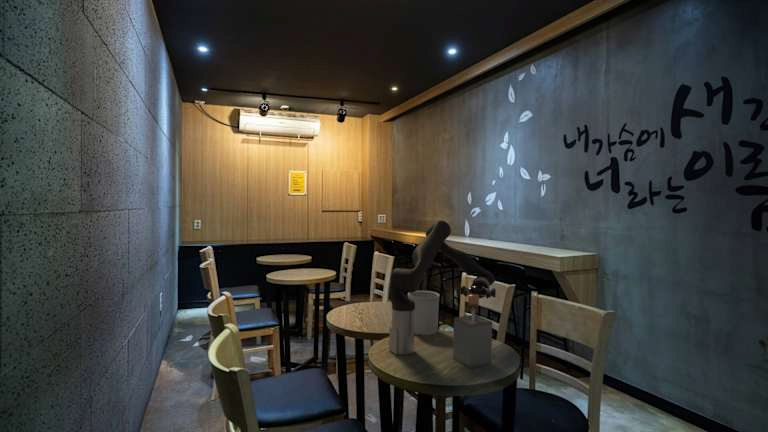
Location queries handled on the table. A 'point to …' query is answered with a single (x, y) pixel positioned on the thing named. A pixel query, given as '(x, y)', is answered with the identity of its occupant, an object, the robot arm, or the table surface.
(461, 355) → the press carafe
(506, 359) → the table surface
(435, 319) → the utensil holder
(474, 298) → the plunger
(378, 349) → the table surface
